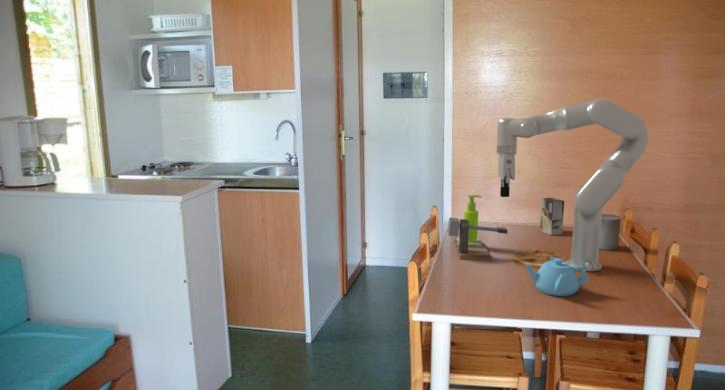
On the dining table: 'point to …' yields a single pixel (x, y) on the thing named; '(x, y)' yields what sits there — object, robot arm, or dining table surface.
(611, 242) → the pillar candle
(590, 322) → the dining table surface
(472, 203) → the soap dispenser
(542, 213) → the coffee box
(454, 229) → the lever
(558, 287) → the teapot
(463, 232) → the base
